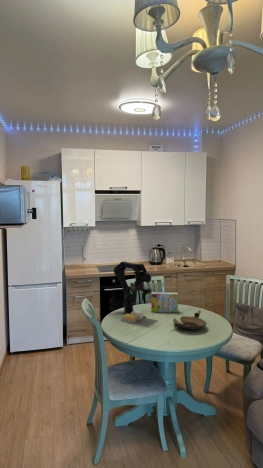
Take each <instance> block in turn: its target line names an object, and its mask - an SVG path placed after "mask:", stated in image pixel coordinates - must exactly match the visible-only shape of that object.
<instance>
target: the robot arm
mask: <svg viewBox="0 0 263 468" xmlns="http://www.w3.org/2000/svg"><path fill="white" fill-rule="evenodd" d="M127 269H129V270H130V269H131V270H132V271H133V274H134V275H135V279H134V280H135V281H134V282H133V285H128V282H127V280H126V277H125V275H126V274H125V273H126V270H127ZM113 274H114V275H115V276H116V277H117V279H118V280H119V283H120V287H121V289H122V291H123V296H124V297H123V300H124V301H123V302H122V303H121V305H122V307H123V311H124V313H126V314H131V312H133V311H134V306H135V305H136V301H137V295H138V291H139V292H141V293H140V294H141V302H144V300H145V298H146V297H147V294H150V293H151V294H152V288H148V287H146V288H145V287H144V283H150V282H151V281H152V276H151V275H150V272H148V271H147V269H146V267H145V264H144V263H143V262H142V263H141V262H140V263H135V262H129V261H121V262H119V263H118V264H117V265H116V266H115V267H114V268H113Z"/></svg>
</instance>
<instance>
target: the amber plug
mask: <svg viewBox="0 0 263 468" xmlns="http://www.w3.org/2000/svg"><path fill="white" fill-rule="evenodd" d="M123 319H125V320H129V321H133V322H136V321H137V316H135V315H131V313H126V314H124V315H123Z"/></svg>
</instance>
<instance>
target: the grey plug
mask: <svg viewBox="0 0 263 468" xmlns="http://www.w3.org/2000/svg"><path fill="white" fill-rule="evenodd" d="M130 314H131V315H135V316H137V318H141V319H142V318H143V316H144V312H141V311H136V310H133V312H131V313H130Z"/></svg>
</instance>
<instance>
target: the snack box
mask: <svg viewBox="0 0 263 468" xmlns="http://www.w3.org/2000/svg"><path fill="white" fill-rule="evenodd" d="M150 297H151V301H150V302H151V303H150V304H151V305H150V307H151V308H150V309H151V312H152V313H153V312H155V313H156V312H157V313H179V293H178V292H160V291H159V292H158V291H156V292H155V291H151V296H150Z"/></svg>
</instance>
